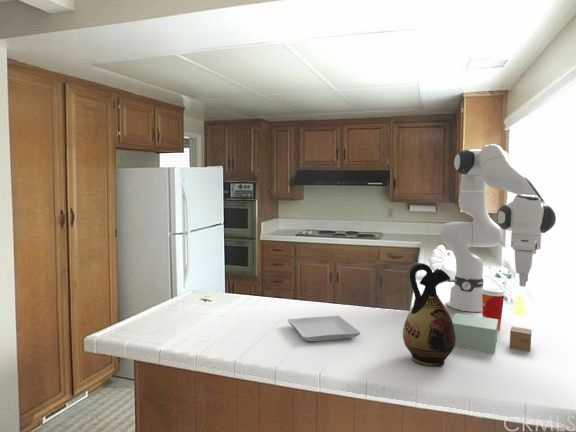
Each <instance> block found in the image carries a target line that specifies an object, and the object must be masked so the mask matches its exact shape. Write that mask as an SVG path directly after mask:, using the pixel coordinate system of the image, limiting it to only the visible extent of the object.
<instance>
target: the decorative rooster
mask: <svg viewBox="0 0 576 432" xmlns="http://www.w3.org/2000/svg"><path fill="white" fill-rule="evenodd" d="M445 247H446V246H444V245H443V244H440V245H438V246H436V247H435V248H434V249H433V250H432V252H431V253H430V256H429V258H428V262H429V267H430V268H431V270H432V272H434V271H435V270H436V269H439V270H440V269H441V270H443V271H444V272H445V273H446V274H447V275H448V276H449V277H450V280H448V281H450V282H455V276H456V259H455V255H454V253H453V251H452V250H451V249H450V250H449V249H446V248H445ZM448 254H449V255H448Z"/></svg>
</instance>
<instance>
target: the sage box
mask: <svg viewBox="0 0 576 432" xmlns="http://www.w3.org/2000/svg"><path fill="white" fill-rule="evenodd" d="M451 319H452V322H453V325H454V330H455V335H456V342H455V346H454V347H456V346H458V347H457V348H461V347H464V348H463V349H467V348H470V349H469V350H473V349H475V350H474V351H480V352H484V351H485V353H491V354H495V353H496V347H497V344H496V343H497V342H498V319H493V318H486V317H483V316H479V315H477V316H476V315H469V314H464V313H463V314H462V313H457V312H456V313H455V314H454V316H453V318H451Z"/></svg>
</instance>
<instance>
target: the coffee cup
mask: <svg viewBox="0 0 576 432" xmlns="http://www.w3.org/2000/svg"><path fill="white" fill-rule="evenodd" d="M481 293H482V309H483V311H482V317H486V318H493V319H498V330H499V331H500V330H501V324H502V316H503V306H504V299H505V297H504V296H506V293H505V291H504V290H503V289H500V288H499V289H498V288H493V287H483V291H482V292H481Z"/></svg>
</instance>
